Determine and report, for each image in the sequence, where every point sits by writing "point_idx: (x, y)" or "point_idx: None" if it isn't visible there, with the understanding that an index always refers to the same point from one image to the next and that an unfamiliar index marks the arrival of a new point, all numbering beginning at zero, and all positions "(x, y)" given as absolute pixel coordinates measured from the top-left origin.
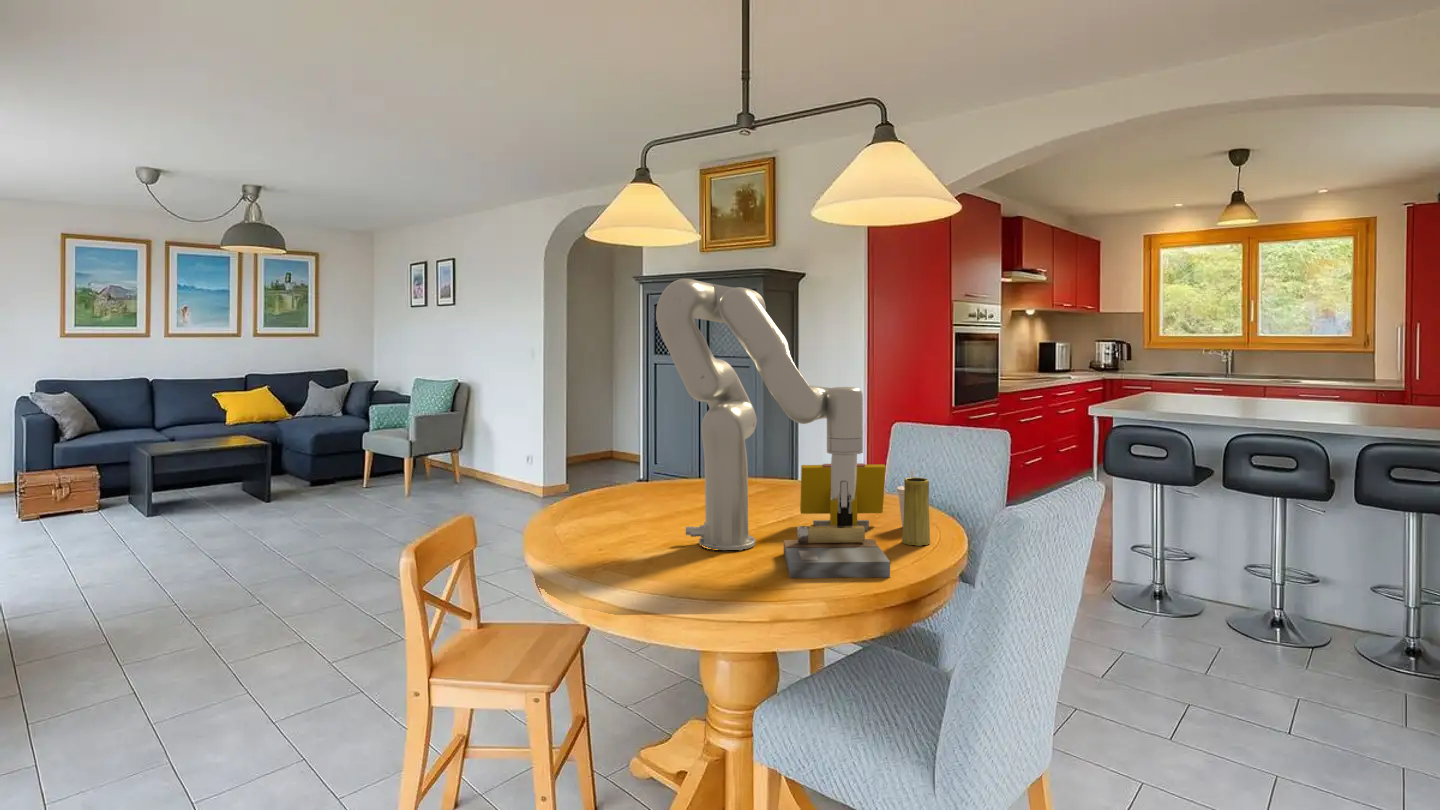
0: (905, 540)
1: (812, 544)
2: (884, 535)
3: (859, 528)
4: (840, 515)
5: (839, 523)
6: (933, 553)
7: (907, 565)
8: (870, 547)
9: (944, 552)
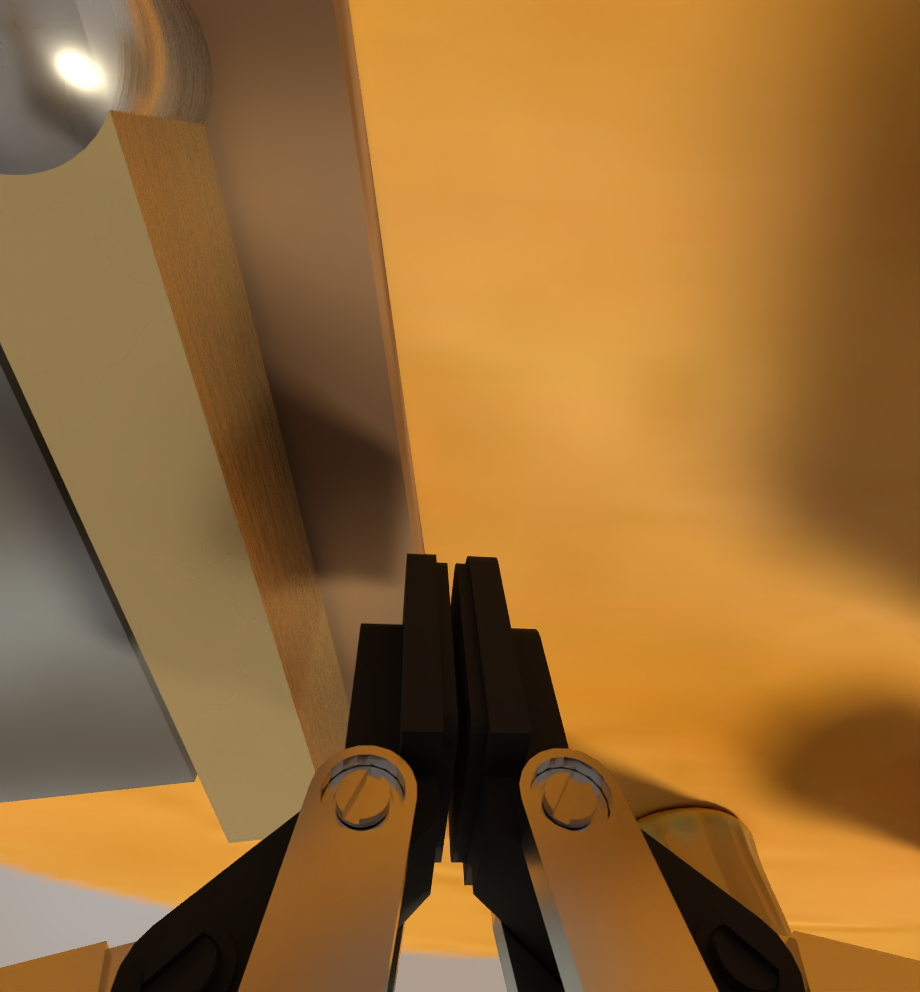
0: (654, 838)
1: None
2: (884, 736)
3: (212, 802)
4: (398, 741)
5: (403, 637)
6: (456, 898)
7: (187, 806)
8: (164, 734)
9: (477, 928)
